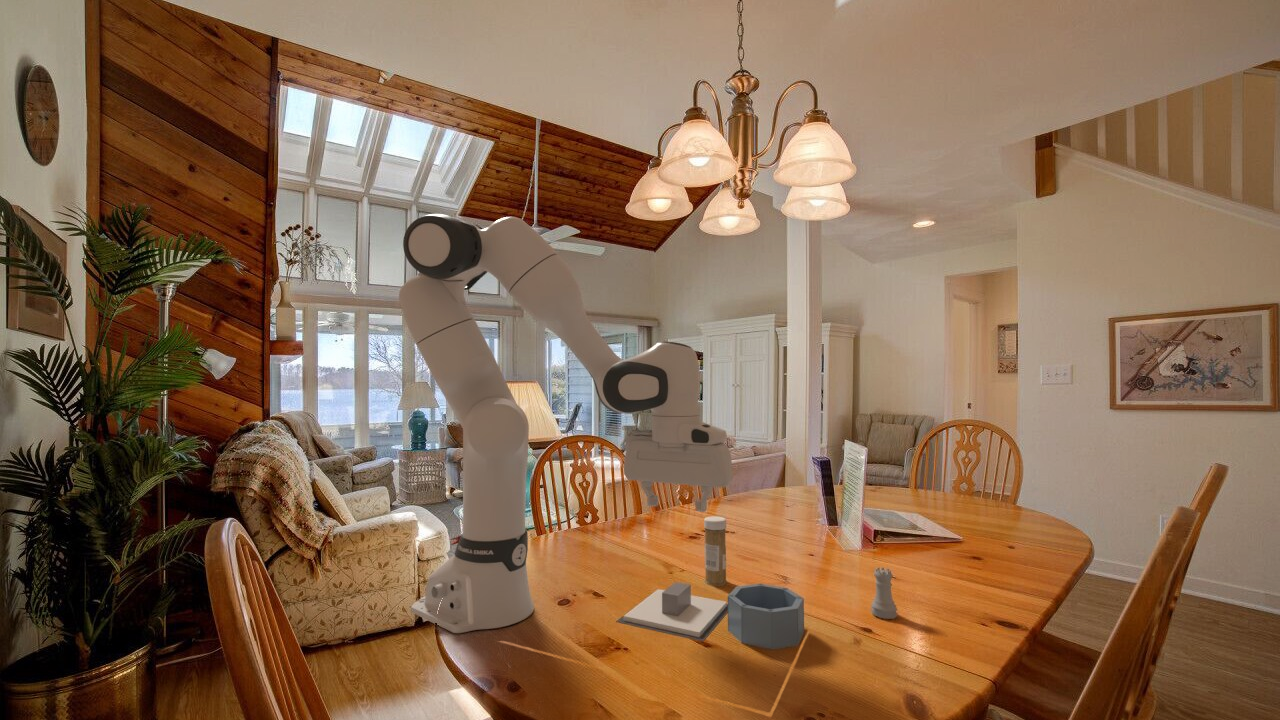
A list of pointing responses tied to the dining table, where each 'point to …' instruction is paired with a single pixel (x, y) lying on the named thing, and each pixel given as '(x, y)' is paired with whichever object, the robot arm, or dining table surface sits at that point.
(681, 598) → the lid
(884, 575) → the rook chess piece
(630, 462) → the robot arm
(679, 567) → the dining table surface
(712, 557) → the sprinkles bottle
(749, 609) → the bowl
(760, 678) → the dining table surface
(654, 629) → the mat
